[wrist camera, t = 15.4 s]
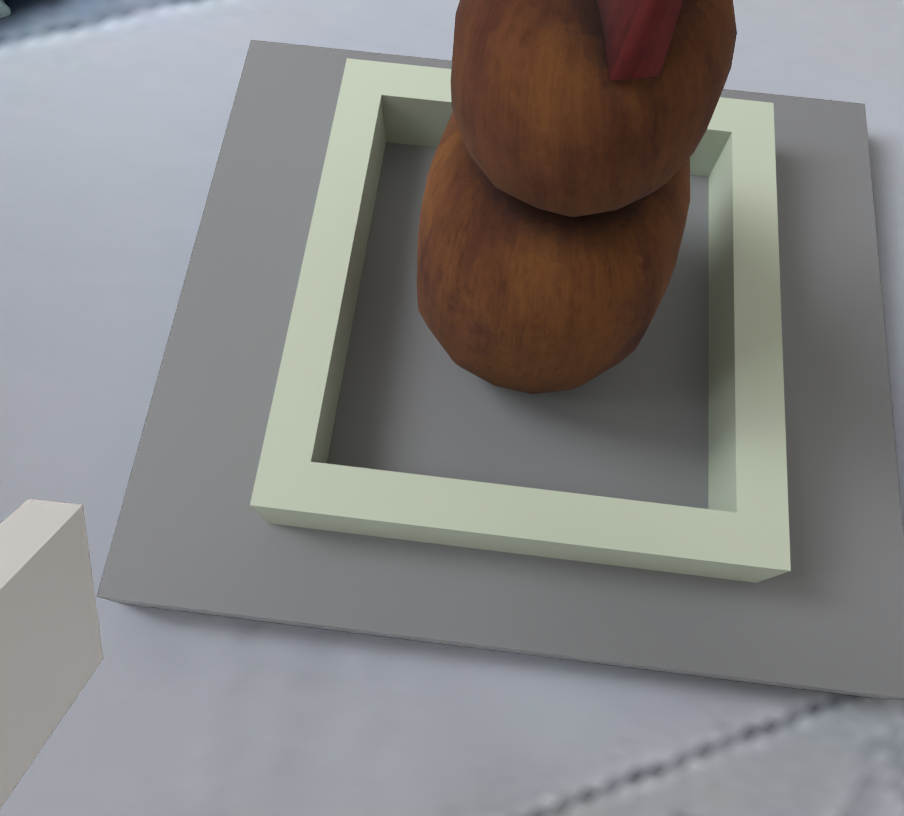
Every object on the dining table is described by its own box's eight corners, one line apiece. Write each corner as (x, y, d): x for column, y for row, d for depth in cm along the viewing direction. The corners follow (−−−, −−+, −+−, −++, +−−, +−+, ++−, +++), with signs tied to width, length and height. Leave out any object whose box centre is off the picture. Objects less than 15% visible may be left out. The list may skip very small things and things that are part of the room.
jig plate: (120, 603, 20) (58, 585, 17) (261, 74, 26) (235, -13, 23) (883, 699, 20) (973, 700, 16) (841, 135, 26) (899, 55, 23)
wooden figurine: (611, 449, 20) (996, -101, 6) (399, 404, 21) (315, -213, 7) (644, 237, 23) (979, -512, 9) (454, 199, 23) (477, -577, 9)
